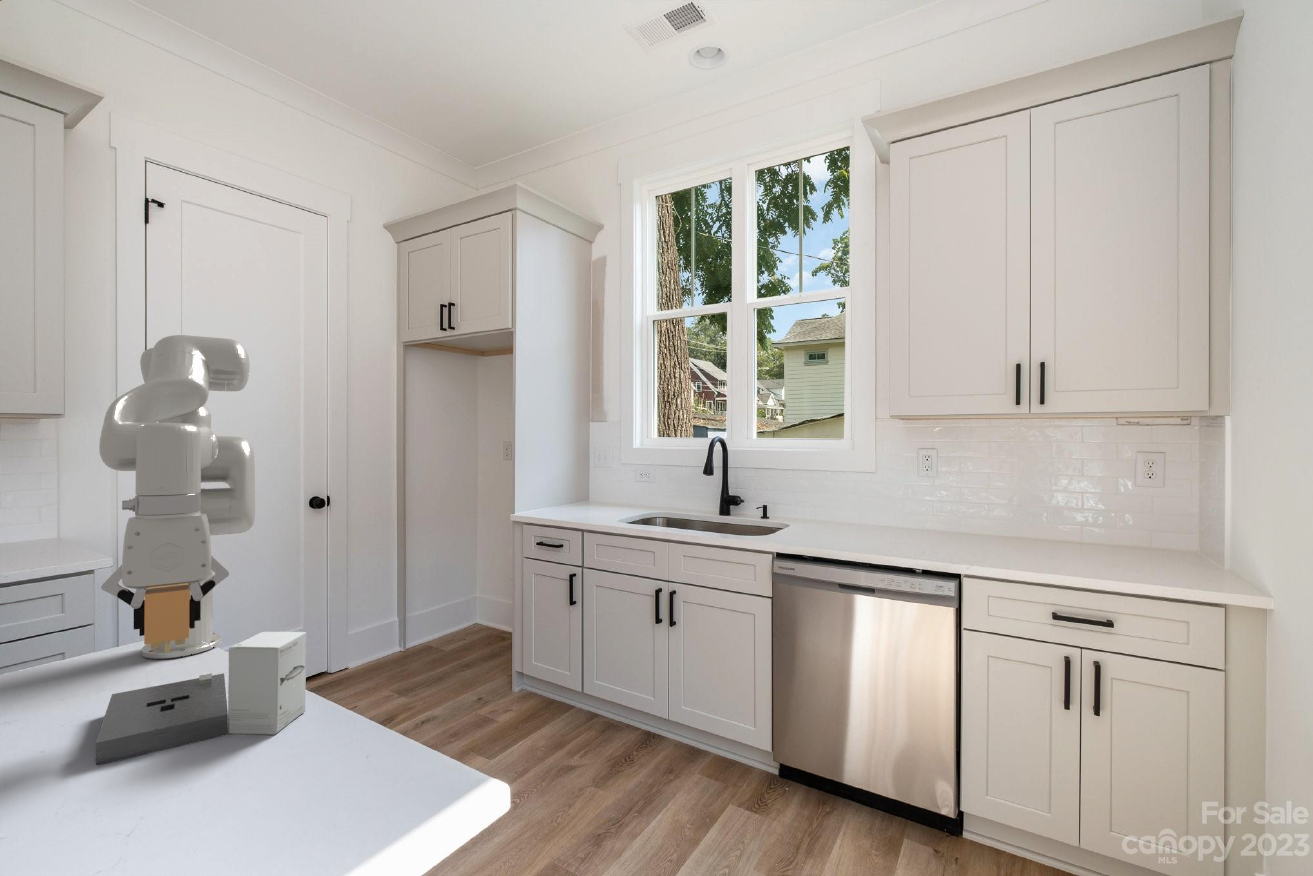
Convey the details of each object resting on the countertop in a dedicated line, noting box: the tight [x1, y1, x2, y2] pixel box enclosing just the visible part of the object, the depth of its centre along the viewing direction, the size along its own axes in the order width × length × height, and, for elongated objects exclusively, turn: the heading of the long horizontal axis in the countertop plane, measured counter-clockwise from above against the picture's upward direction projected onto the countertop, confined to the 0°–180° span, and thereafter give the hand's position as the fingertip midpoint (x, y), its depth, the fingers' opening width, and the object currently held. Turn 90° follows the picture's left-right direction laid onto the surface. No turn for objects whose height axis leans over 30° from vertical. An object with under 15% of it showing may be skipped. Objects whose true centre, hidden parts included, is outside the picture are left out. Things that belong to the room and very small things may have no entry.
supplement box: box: [227, 631, 307, 735], centre depth 91 cm, size 7×7×13 cm
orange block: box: [143, 583, 190, 652], centre depth 90 cm, size 8×5×9 cm, turn 37°
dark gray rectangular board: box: [95, 673, 229, 767], centre depth 90 cm, size 18×14×4 cm
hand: (168, 628), depth 90 cm, fingers closed on orange block, 4 cm apart
